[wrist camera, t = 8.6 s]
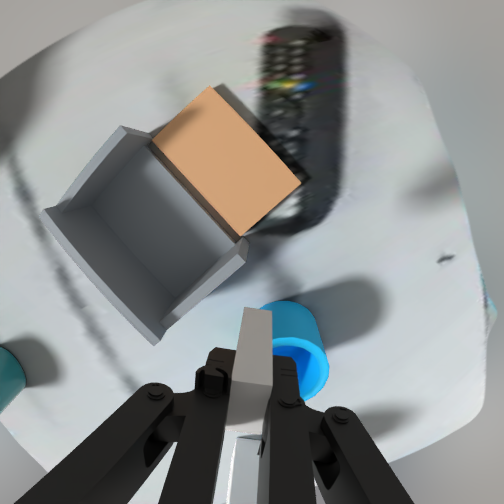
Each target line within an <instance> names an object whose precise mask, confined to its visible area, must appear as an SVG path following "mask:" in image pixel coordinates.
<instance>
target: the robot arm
mask: <svg viewBox="0 0 504 504" xmlns="http://www.w3.org/2000/svg"><path fill="white" fill-rule="evenodd" d="M225 430H228V431H235V432H242V433H250V434H258V435H261V433H262V438H261V442H260V446H259V450H258V453H257V455H259V471H258V488H257V504H316V495H315V484H314V478H315V480H316V483H317V485H318V487H319V490H320V492H321V494H322V497H323V499H324V501H325V503H326V504H414V503H413V501H412V500H411V498H410V496H409V495H408V493H407V492H406V490H405V489H404V487H403V486H402V484H401V483H400V481H399V480H398V478H397V477H396V475H395V473H394V472H393V471H392V469H391V467H390V466H389V464H388V463H387V461H386V460H385V458H384V457H383V455H382V454H381V452H380V451H379V449H378V448H377V446H376V445H375V443H374V441H373V440H372V438H371V437H370V435H369V434H368V432H367V431H366V429H365V428H364V426H363V425H362V423H361V422H360V420H359V419H358V417H357V416H356V414H355V413H354V412H353V411H351V410H349V409H348V408H345V407H341V406H334V407H331V408H328V409H327V410H326V411H325V413H323V412H320V411H316V410H314V409H311V408H309V407H308V406H306V405H305V402H304V400H303V399H302V398H301V397H300V391H299V382H298V374H297V366H296V363H295V361H294V360H293V359H292V357H287V356H279V355H272V311H269V310H262V309H255V308H248V307H244V312H243V317H242V323H241V328H240V334H239V339H238V345H237V350H230V349H224V348H218V347H215V348H214V349H213V350H212V351H210V352H209V355H208V358H207V361H206V365H205V366H203V367H201V368H199V369H198V370H197V371H196V377H195V389H194V390H192V391H190V392H186V393H173V391H172V389H171V388H170V387H168V386H167V385H165V384H161V383H148V384H145V385H143V386H142V387H140V388H139V389H138V390H137V391H136V392H135V393H134V394H133V395H132V396H131V397H130V398H129V399H128V400H127V401H126V402H125V403H124V404H122V405H121V406H120V407H119V408H118V409H117V410H116V411H115V412H114V413H113V414H112V415H111V416H110V417H109V418H108V419H106V420H105V421H104V422H103V423H102V424H101V425H100V426H99V427H98V428H97V429H96V430H95V431H94V432H92V433H91V434H90V435H89V436H88V437H87V438H86V439H85V440H84V441H83V442H82V443H81V444H79V445H78V446H77V447H76V448H75V449H74V450H73V451H72V452H71V453H70V454H69V455H67V456H66V457H65V458H64V459H63V460H62V461H61V462H60V463H59V464H58V465H56V466H55V467H54V468H53V469H52V470H51V471H50V472H49V473H48V474H47V475H45V476H44V478H42V479H41V480H40V481H39V482H38V483H37V484H35V485H34V486H33V487H32V488H31V489H30V490H29V491H28V492H26V493H25V494H24V495H23V496H22V497H21V498H20V499H18V500H17V501H16V502H15V503H14V504H127V503H128V502H129V501H130V500H131V498H132V497H133V496H134V495H135V493H136V492H137V491H138V489H139V488H140V487H141V486H142V484H143V483H144V482H145V480H146V479H147V478H148V477H149V475H150V474H151V473H152V471H153V470H154V469H155V467H156V466H157V465H158V464H159V462H160V461H161V460H162V458H163V457H164V456H165V454H166V453H167V452H168V450H169V449H170V448H171V446H172V445H173V442H178V443H177V446H176V449H175V452H174V455H173V458H172V461H171V464H170V468H169V471H168V474H167V477H166V480H165V483H164V487H163V490H162V493H161V496H160V499H159V502H158V504H213V499H214V493H215V487H216V481H217V475H218V469H219V464H220V458H221V452H222V446H223V440H224V433H225Z"/></svg>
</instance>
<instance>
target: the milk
mask: <svg viewBox="0 0 504 504" xmlns="http://www.w3.org/2000/svg"><path fill="white" fill-rule="evenodd" d="M260 442H261V440H253V439H245V438H238V437H237V438H236V442H235V446H234V450H233V455H232V459H231V467H230V475H229V484H228V492H227V500H226V504H257V488H258V471H259V455H257V453H258V450H259V446H260Z"/></svg>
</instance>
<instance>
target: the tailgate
mask: <svg viewBox="0 0 504 504" xmlns="http://www.w3.org/2000/svg"><path fill="white" fill-rule="evenodd" d="M152 141H153V142H154V143H155V144H156V145H157V147H158V148H159V149H160V150H161V151H162V152H163V153H164V154H165V155H166V156H167V157H168V158H169V160H170V161H171V162H172V163H173V164H174V165H175V166H176V167H177V168H178V169H179V170H180V171H181V173H182V174H183V175H184V176H185V177H186V178H187V179H188V180H189V181H190V182H191V183H192V185H193V186H194V187H195V188H196V189H197V190H198V191H199V192H200V193H201V194H202V195H203V196H204V198H205V199H206V200H207V201H208V202H209V203H210V204H211V205H212V206H213V207H214V208H215V210H216V211H217V212H218V213H219V214H220V215H221V216H222V217H223V218H224V219H225V220H226V221H227V223H228V224H229V225H230V226H231V227H232V228H233V229H234V230H235V231H236V232H237V233H238V235H239V236H242V235H243V234H244V233H245V232H246V231H247V230H248V229H250V228H251V227H252V226H253V225H254V224H255V223H256V222H257V221H259V220H260V219H261V218H262V217H263V216H264V215H265V214H267V213H268V212H269V211H270V210H271V209H272V208H273V207H275V206H276V205H277V204H278V203H279V202H280V201H282V200H283V199H284V198H285V197H286V196H287V195H288V194H290V193H291V192H292V191H293V190H294V189H295V188H297V187H298V186H299V185H300V184H301V182H300V181H299V180H298V179H297V178H296V176H295V175H294V174H293V173H292V172H291V171H290V170H289V169H288V167H287V166H286V165H285V164H284V163H283V162H282V161H281V160H280V158H279V157H278V156H277V155H276V154H275V153H274V152H273V151H272V150H271V149H270V147H269V146H268V145H267V144H266V143H265V142H264V141H263V140H262V139H261V138H260V137H259V136H258V134H257V133H256V132H255V131H254V130H253V129H252V128H251V127H250V126H249V125H248V124H247V123H246V122H245V121H244V120H243V119H242V118H241V117H240V116H239V115H238V113H237V112H236V111H235V110H234V109H233V108H232V107H231V106H230V105H229V104H228V103H227V102H226V101H225V100H224V99H223V98H222V97H221V96H220V95H219V94H218V93H217V92H216V91H215V90H214V89H213V88H212V87H211V86H209V87H207V88H206V89H205V90H204V91H203V92H202V93H201V94H200V95H198V96H197V97H196V98H195V99H194V100H193V101H192V102H191V103H190V104H189V105H187V106H186V107H185V108H184V109H183V110H182V111H181V112H180V113H179V114H178V115H177V116H176V117H175V118H174V119H173V120H172V121H171V122H170V123H169V124H167V125H166V126H165V127H164V128H163V129H162V130H161V131H160V132H159V133H158V134H157V135H156V136H155V137H154V139H153V140H152Z"/></svg>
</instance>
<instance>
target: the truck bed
mask: <svg viewBox="0 0 504 504" xmlns="http://www.w3.org/2000/svg"><path fill="white" fill-rule="evenodd" d="M152 140H153V138H152V137H151V136H150V135H149V134H148V133H146V132H143V131H139V130H135V129H132V128H128V127H124V126H119V127H118V128H117V130H116V131H115V132H114V133H113V134H112V135H111V136H110V137H109V139H108V140H107V141H106V142H105V143H104V144H103V146H102V147H101V148H100V149H99V150H98V152H97V153H96V154H95V155H94V156H93V158H92V159H91V160H90V161H89V163H88V164H87V165H86V166H85V168H84V169H83V170H82V171H81V173H80V174H79V175H78V177H77V178H76V179H75V180H74V182H73V183H72V184H71V186H70V187H69V188H68V190H67V191H66V193H65V194H64V195H63V197H62V198H61V199H60V201H59V202H58V204H57V205H56V206H54V207H50V208H46V209H43V211H42V212H41V214H40V216H39V218H40V219H41V220H42V222H43V223H44V224H45V226H46V227H47V228H48V230H49V231H50V232H51V234H52V235H53V236H54V237H55V239H56V240H57V241H58V242H59V244H60V245H61V246H62V247H63V249H64V250H65V251H66V252H67V254H68V255H69V256H70V257H71V258H72V260H73V261H74V262H75V263H76V264H77V266H78V267H79V268H80V269H81V270H82V271H83V273H84V274H85V275H86V276H87V277H88V278H89V280H90V281H91V282H92V283H93V284H94V285H95V286H96V287H97V289H98V290H99V291H100V292H101V293H102V294H103V295H104V296H105V297H106V298H107V299H108V301H109V302H110V303H111V304H112V305H113V306H114V307H115V308H116V309H117V310H118V311H119V312H120V313H121V314H122V315H123V316H124V317H125V318H126V319H127V320H128V321H129V322H130V324H131V325H132V326H133V327H134V328H135V329H136V330H137V331H138V332H140V333H141V334H142V335H143V336H144V337H145V338H146V339H147V340H148V341H149V342H150V343H151V344H152V345H153V346H155V345H156V344H157V343H158V342H159V341H161V339H162V337H163V335H164V334H165V332H166V330H167V329H168V328H170V327H171V326H172V325H173V324H174V323H176V322H177V321H178V320H179V319H180V318H181V317H183V316H184V315H185V314H186V313H187V312H188V311H190V310H191V309H192V308H193V307H194V306H195V305H197V304H198V303H199V302H200V301H201V300H202V299H204V298H205V297H206V296H207V295H208V294H209V293H211V292H212V291H213V290H214V289H215V288H217V287H218V286H219V285H220V284H221V283H222V282H224V281H225V280H226V279H227V278H228V277H229V276H231V275H232V274H233V273H234V272H235V271H236V270H238V269H239V268H240V267H241V266H242V265H243V264H245V263H246V259H247V254H248V249H249V244H250V243H249V242H248V241H247V240H246V239H245V238H244V237H242V238H241V239H240V240H238V241H237V242H235V241H234V240H233V239H232V238H231V237H230V236H229V234H228V233H227V232H226V231H225V230H224V229H223V228H222V227H221V226H220V225H219V224H218V222H217V221H216V220H215V219H214V218H213V217H212V216H211V215H210V214H209V213H208V212H207V211H206V209H205V208H204V207H203V206H202V205H201V204H200V203H199V202H198V201H197V200H196V199H195V198H194V196H193V195H192V194H191V193H190V192H189V191H188V190H187V189H186V188H185V187H184V186H183V184H182V183H181V182H180V181H179V180H178V179H177V178H176V177H175V176H174V175H173V174H172V172H171V171H170V170H169V169H168V168H167V167H166V166H165V165H164V164H163V163H162V162H161V160H160V159H159V158H158V157H157V156H156V155H155V154H154V153H153V152H152V151H151V150H150V148H149V147H148V145H149V144H150V143H151V142H152Z"/></svg>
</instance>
